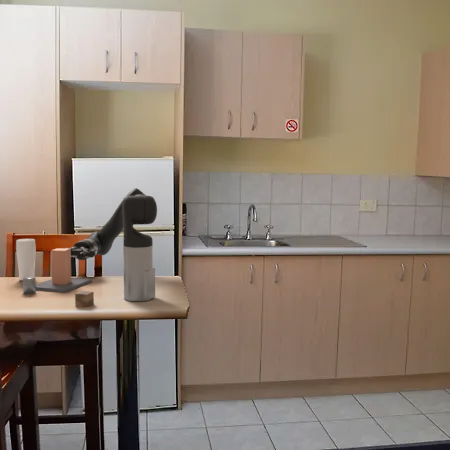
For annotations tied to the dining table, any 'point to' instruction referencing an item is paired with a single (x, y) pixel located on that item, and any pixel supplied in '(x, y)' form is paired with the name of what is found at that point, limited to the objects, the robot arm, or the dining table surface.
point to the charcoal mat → (62, 285)
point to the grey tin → (29, 285)
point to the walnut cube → (84, 299)
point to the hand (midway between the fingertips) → (69, 255)
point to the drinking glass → (26, 257)
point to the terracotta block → (61, 266)
